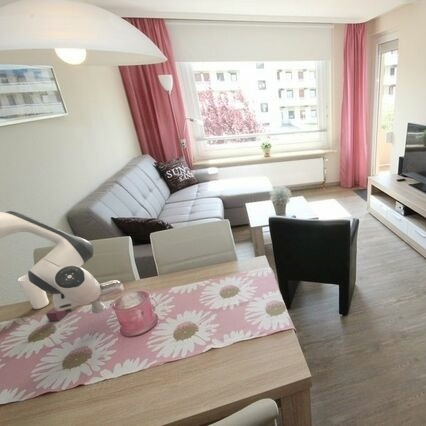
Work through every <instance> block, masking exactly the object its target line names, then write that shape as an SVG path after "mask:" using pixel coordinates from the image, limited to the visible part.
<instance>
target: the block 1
mask: <svg viewBox="0 0 426 426" xmlns="http://www.w3.org/2000/svg"><path fill="white" fill-rule="evenodd" d="M45 315H46V317H47V319H48V322H59V321H61V320H62V319H63V318H65V317H66V316H67V315H68V314H67V311H65V310H63V311H56V310H55V307H54V306H53V307H52V308H51V309H50V310H48V311H47V312H46V313H45Z"/></svg>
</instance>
